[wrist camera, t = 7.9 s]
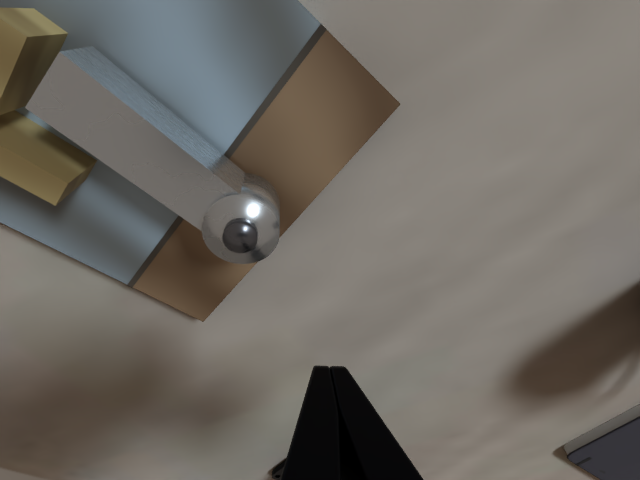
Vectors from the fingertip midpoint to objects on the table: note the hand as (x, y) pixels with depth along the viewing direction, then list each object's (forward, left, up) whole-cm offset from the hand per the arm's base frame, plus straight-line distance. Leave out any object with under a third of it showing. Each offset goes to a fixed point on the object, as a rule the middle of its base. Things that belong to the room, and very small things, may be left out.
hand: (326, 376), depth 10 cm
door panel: (-2, +7, -11) cm, 13 cm away
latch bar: (-1, +6, -10) cm, 11 cm away
